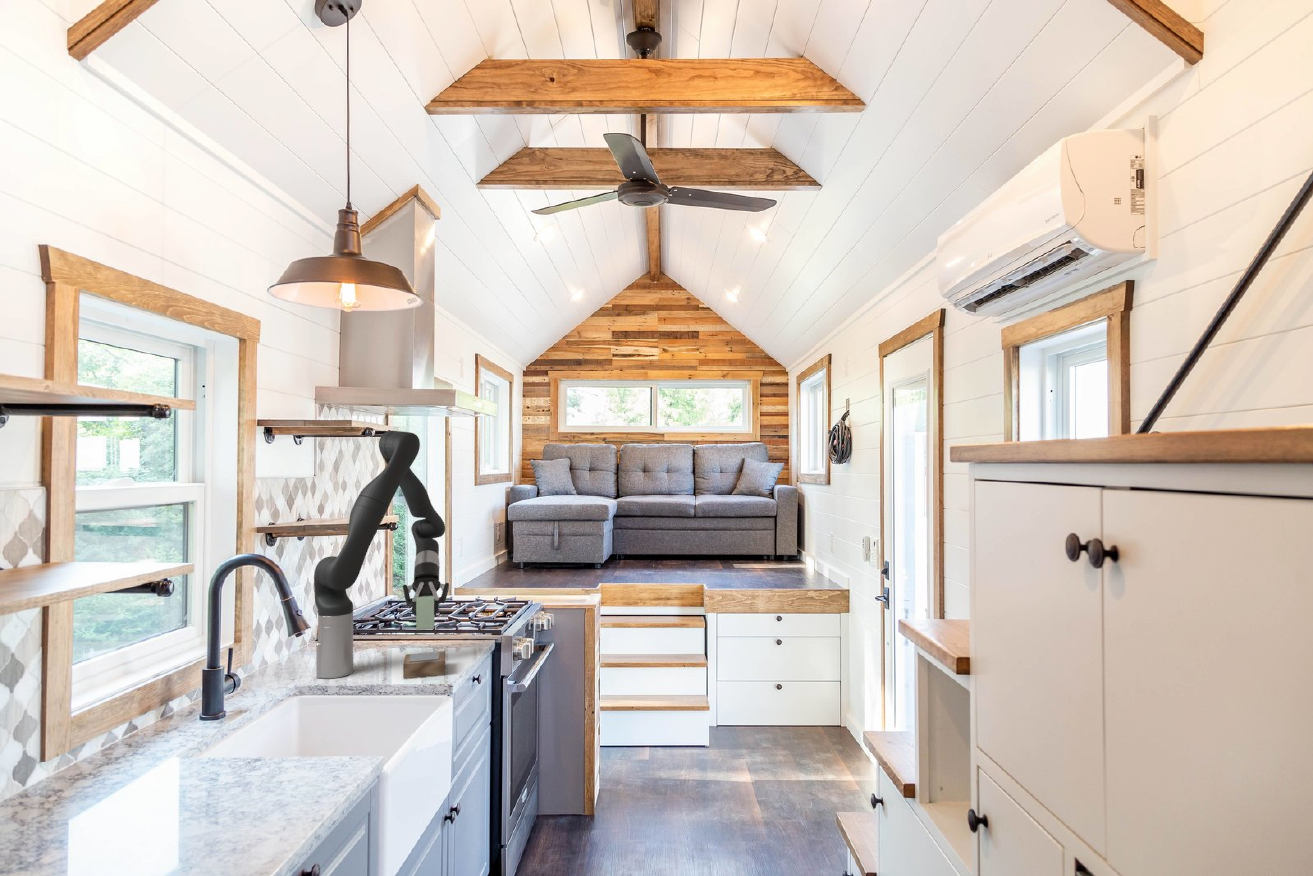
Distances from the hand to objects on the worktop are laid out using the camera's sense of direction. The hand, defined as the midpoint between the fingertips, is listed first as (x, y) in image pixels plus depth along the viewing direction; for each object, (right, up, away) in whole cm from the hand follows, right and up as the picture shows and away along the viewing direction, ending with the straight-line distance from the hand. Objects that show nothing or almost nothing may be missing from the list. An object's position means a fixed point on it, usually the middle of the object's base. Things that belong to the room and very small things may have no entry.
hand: (425, 614), depth 214 cm
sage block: (-1, -5, +2) cm, 5 cm away
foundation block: (+3, -14, -9) cm, 17 cm away
